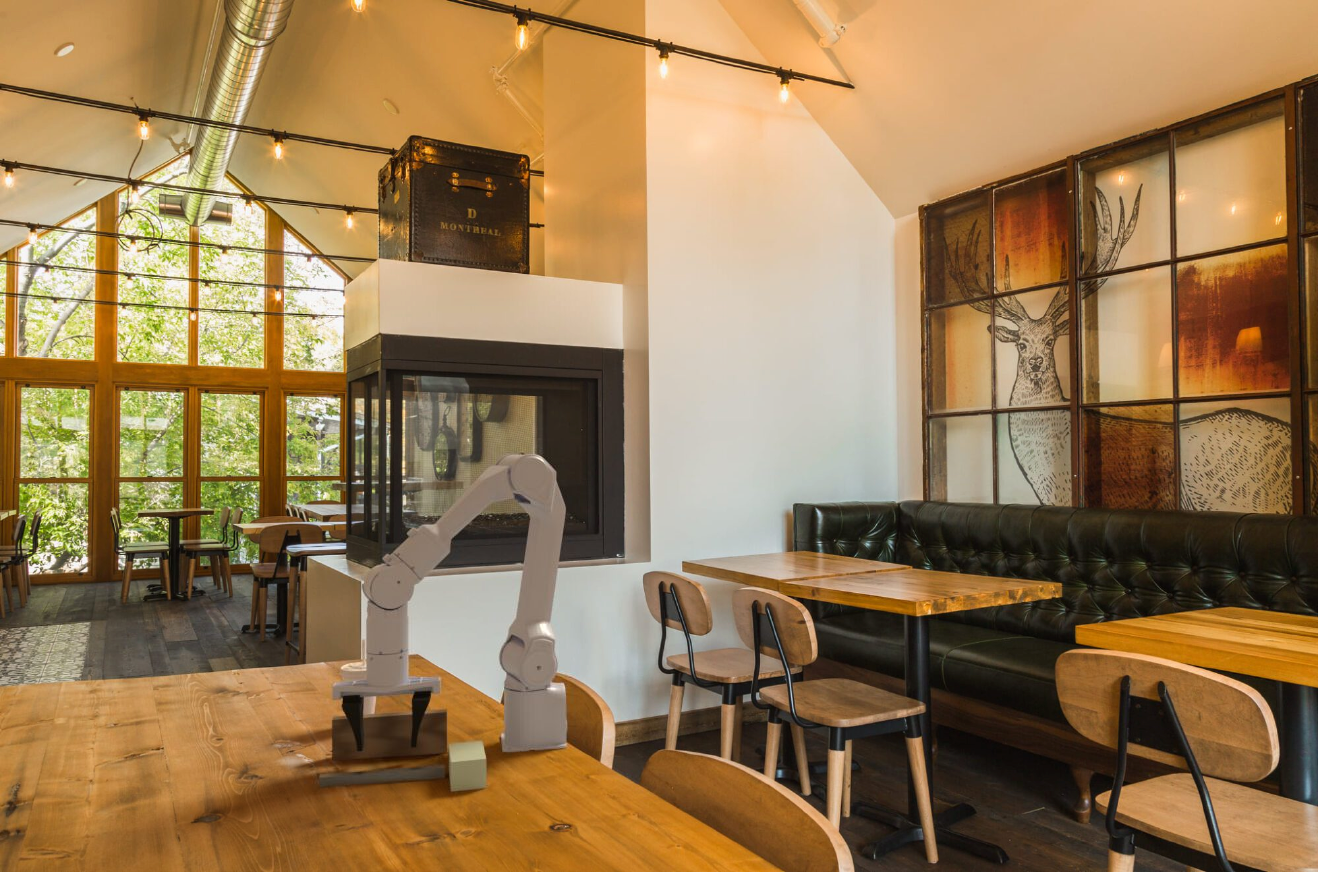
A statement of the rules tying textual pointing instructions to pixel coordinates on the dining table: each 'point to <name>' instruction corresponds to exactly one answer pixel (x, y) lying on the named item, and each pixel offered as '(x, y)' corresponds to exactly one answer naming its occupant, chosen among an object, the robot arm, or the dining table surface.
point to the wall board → (390, 735)
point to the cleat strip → (382, 776)
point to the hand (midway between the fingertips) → (387, 747)
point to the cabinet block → (467, 766)
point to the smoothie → (359, 678)
